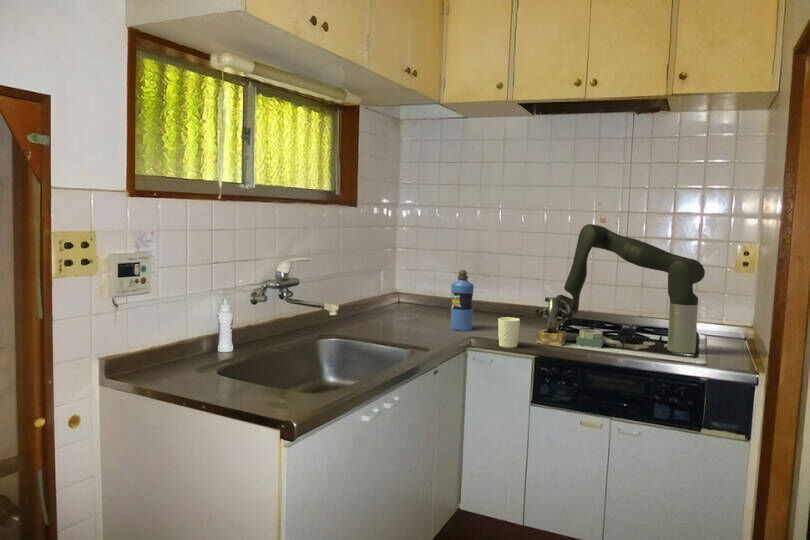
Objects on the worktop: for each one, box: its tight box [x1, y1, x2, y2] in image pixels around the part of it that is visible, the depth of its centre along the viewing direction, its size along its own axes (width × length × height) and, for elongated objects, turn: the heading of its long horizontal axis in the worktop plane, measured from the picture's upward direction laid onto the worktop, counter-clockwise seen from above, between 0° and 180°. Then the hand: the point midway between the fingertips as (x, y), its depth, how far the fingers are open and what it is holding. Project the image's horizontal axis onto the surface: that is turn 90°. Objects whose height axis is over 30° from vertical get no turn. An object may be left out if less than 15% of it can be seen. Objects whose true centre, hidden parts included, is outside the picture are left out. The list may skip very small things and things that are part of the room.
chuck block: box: [575, 329, 621, 348], centre depth 226 cm, size 15×9×5 cm, turn 66°
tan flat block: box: [536, 328, 567, 346], centre depth 230 cm, size 9×9×4 cm
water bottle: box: [450, 269, 475, 332], centre depth 253 cm, size 9×9×25 cm
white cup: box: [497, 316, 521, 349], centre depth 223 cm, size 8×8×10 cm
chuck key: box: [544, 296, 562, 334], centre depth 230 cm, size 6×3×16 cm, turn 66°
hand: (551, 316), depth 228 cm, fingers open, 8 cm apart
